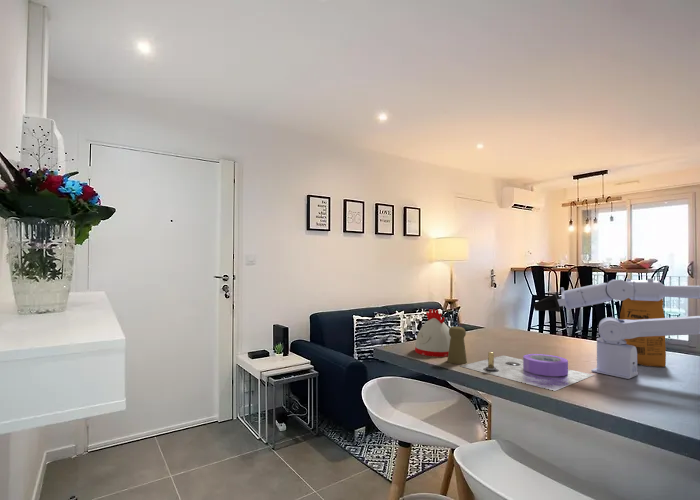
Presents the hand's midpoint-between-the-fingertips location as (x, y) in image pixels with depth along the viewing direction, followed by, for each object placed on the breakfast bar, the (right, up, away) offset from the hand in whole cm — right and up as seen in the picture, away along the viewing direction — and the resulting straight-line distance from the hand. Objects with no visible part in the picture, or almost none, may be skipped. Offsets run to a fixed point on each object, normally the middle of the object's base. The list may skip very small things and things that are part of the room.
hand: (535, 306), depth 125 cm
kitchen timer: (-29, -18, +12) cm, 37 cm away
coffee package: (+35, -19, +1) cm, 39 cm away
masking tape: (-2, -18, -11) cm, 21 cm away
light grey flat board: (-8, -17, -10) cm, 22 cm away
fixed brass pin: (-18, -17, -11) cm, 27 cm away
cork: (-25, -18, -1) cm, 31 cm away
